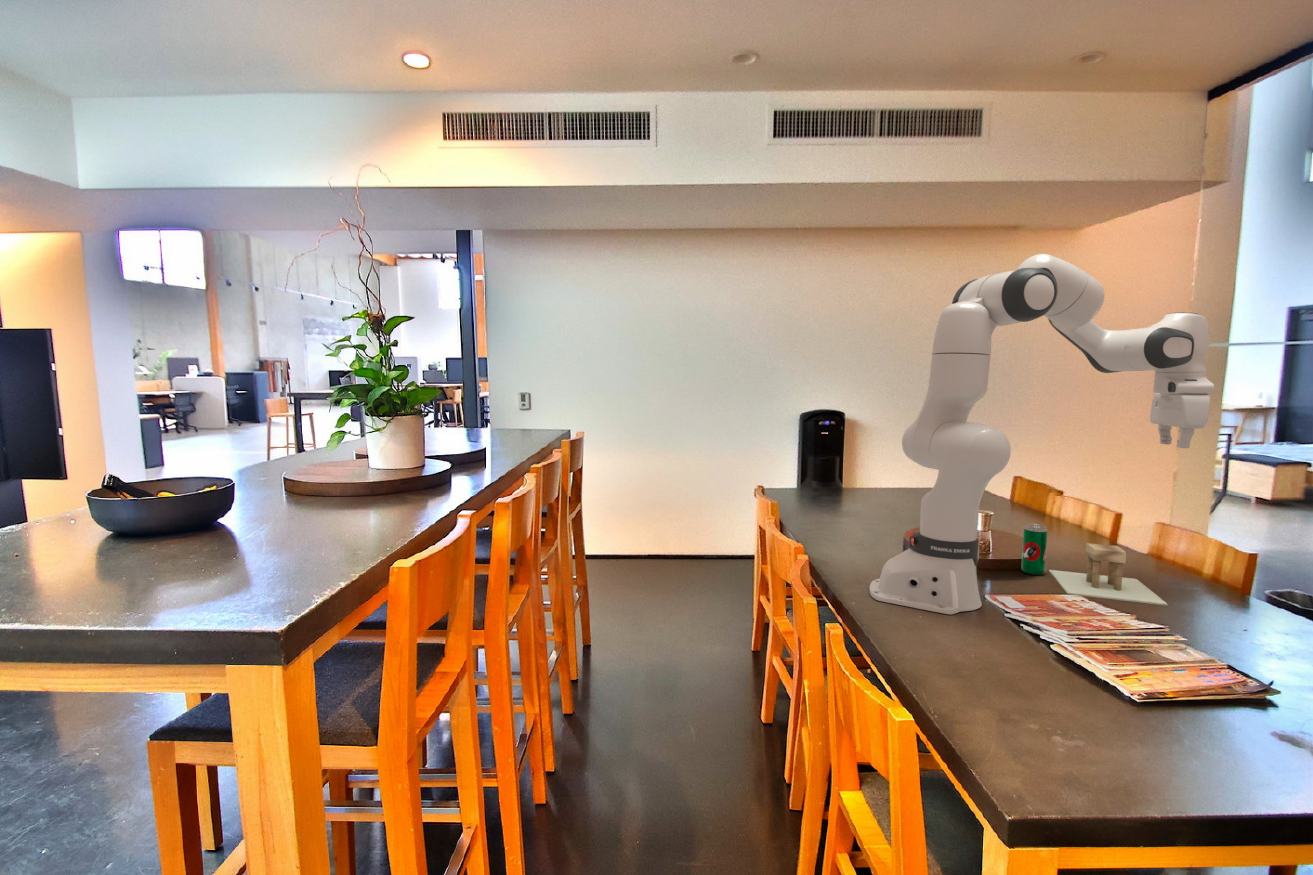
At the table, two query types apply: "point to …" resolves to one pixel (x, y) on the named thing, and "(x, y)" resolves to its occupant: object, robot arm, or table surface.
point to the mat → (1106, 588)
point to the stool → (1110, 555)
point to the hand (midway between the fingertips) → (1173, 446)
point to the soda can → (1034, 549)
